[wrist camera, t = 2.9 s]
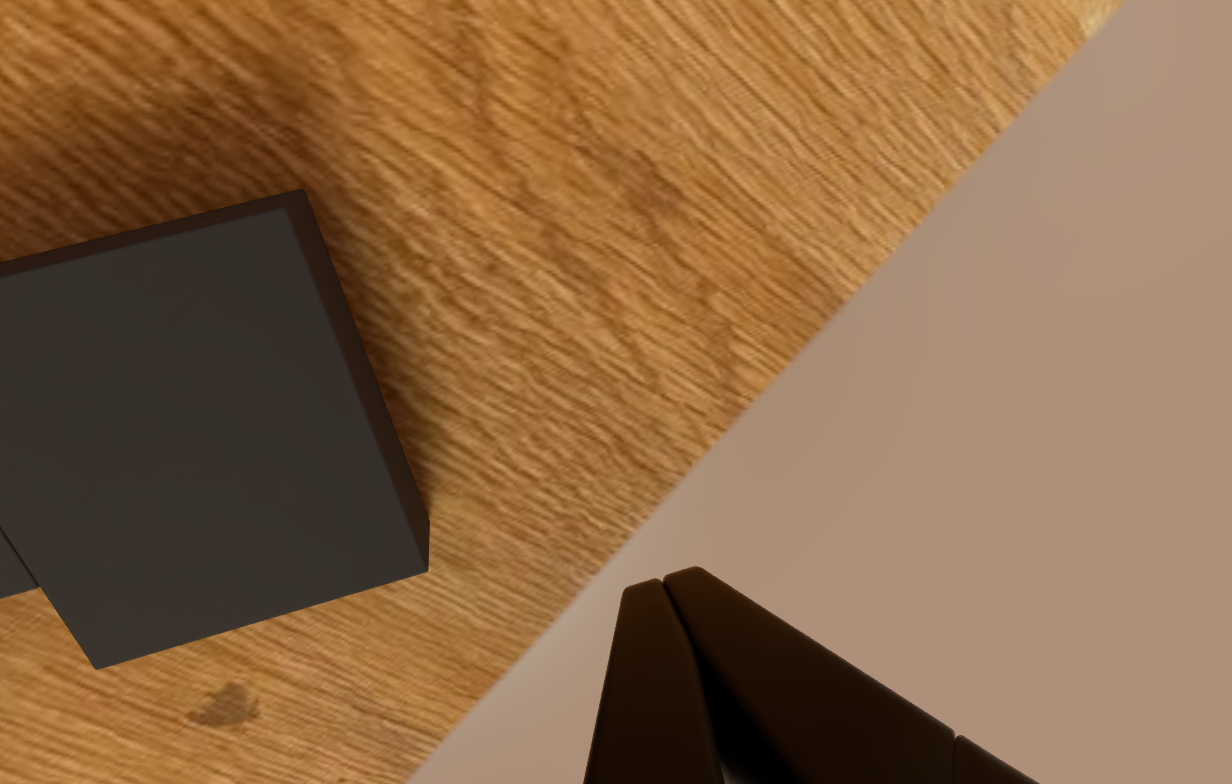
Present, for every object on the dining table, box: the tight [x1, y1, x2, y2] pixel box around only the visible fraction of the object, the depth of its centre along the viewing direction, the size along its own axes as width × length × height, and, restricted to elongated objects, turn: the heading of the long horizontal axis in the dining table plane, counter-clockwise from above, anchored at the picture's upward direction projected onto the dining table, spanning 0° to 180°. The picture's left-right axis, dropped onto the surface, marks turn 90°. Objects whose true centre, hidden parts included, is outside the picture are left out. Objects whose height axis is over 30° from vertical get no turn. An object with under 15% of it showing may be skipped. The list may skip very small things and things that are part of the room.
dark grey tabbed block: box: [0, 189, 430, 670], centre depth 15 cm, size 8×10×2 cm
